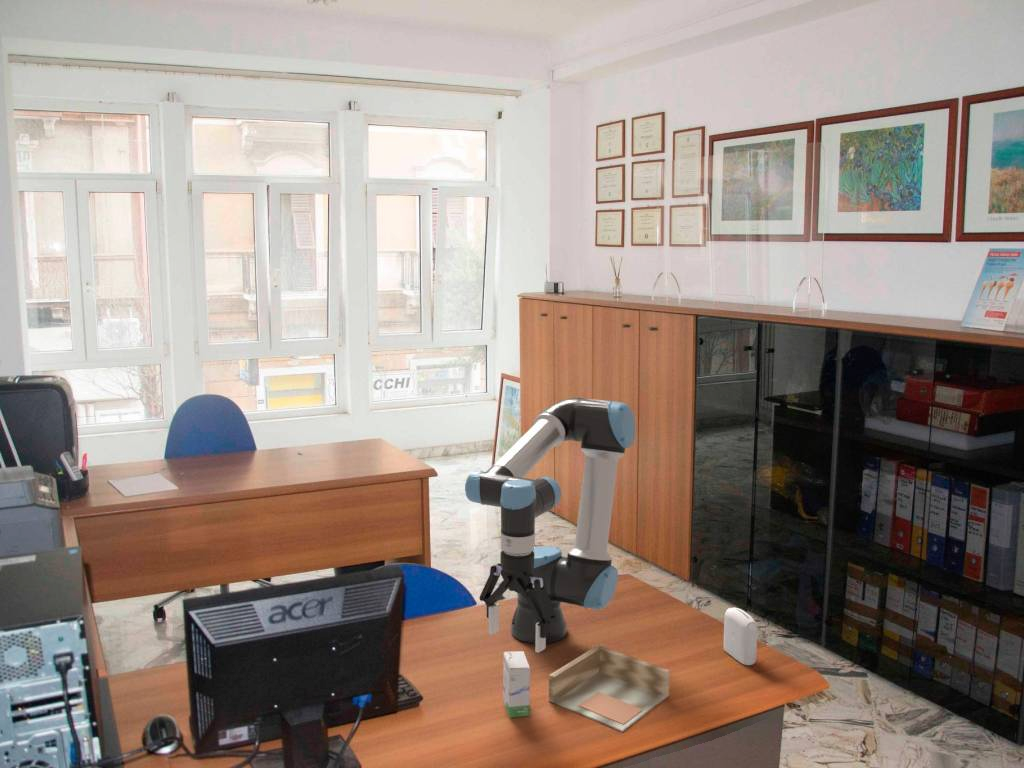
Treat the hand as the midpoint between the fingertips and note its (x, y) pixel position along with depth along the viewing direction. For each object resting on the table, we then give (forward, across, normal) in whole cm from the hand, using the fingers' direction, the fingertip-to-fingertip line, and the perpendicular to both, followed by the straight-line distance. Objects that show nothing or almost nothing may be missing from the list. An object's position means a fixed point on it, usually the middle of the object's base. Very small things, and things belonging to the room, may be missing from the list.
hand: (516, 641), depth 196 cm
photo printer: (+16, +28, +56) cm, 65 cm away
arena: (+16, +14, +17) cm, 27 cm away
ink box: (+16, 0, 0) cm, 16 cm away
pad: (+16, +17, +13) cm, 27 cm away
